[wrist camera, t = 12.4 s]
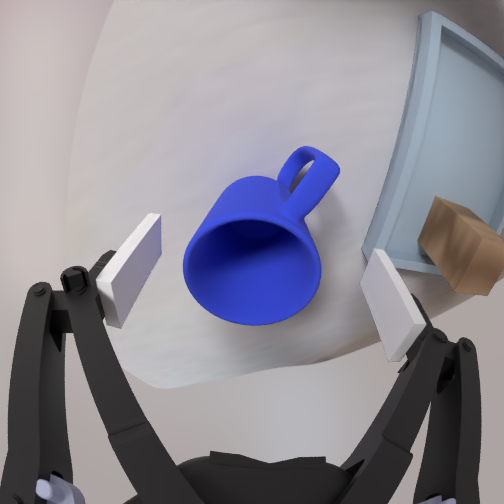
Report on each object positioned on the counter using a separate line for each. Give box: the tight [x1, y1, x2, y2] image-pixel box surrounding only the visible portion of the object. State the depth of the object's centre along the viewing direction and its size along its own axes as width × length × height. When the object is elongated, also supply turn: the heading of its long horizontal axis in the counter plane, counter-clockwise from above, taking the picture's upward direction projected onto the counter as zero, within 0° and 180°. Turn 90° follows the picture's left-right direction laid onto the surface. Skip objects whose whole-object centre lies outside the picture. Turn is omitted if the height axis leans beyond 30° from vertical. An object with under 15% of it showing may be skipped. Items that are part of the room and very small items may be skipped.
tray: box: [362, 10, 504, 276], centre depth 19 cm, size 24×16×2 cm, turn 172°
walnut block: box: [417, 196, 504, 296], centre depth 20 cm, size 5×5×8 cm
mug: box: [183, 146, 340, 325], centre depth 20 cm, size 8×12×10 cm
